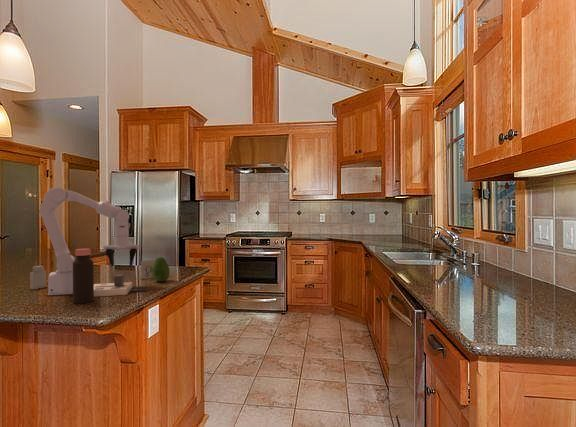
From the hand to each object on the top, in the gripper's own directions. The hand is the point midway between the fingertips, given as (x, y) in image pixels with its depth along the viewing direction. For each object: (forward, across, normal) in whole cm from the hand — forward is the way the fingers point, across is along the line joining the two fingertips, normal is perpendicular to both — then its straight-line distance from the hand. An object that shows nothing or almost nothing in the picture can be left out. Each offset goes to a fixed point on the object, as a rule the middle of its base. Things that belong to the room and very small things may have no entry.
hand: (121, 265), depth 148 cm
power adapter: (+10, -35, +6) cm, 37 cm away
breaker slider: (+7, +1, -10) cm, 12 cm away
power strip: (+9, +1, -10) cm, 14 cm away
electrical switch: (+10, +10, +16) cm, 21 cm away
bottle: (+10, -9, -22) cm, 26 cm away
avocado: (+10, +16, +5) cm, 19 cm away
